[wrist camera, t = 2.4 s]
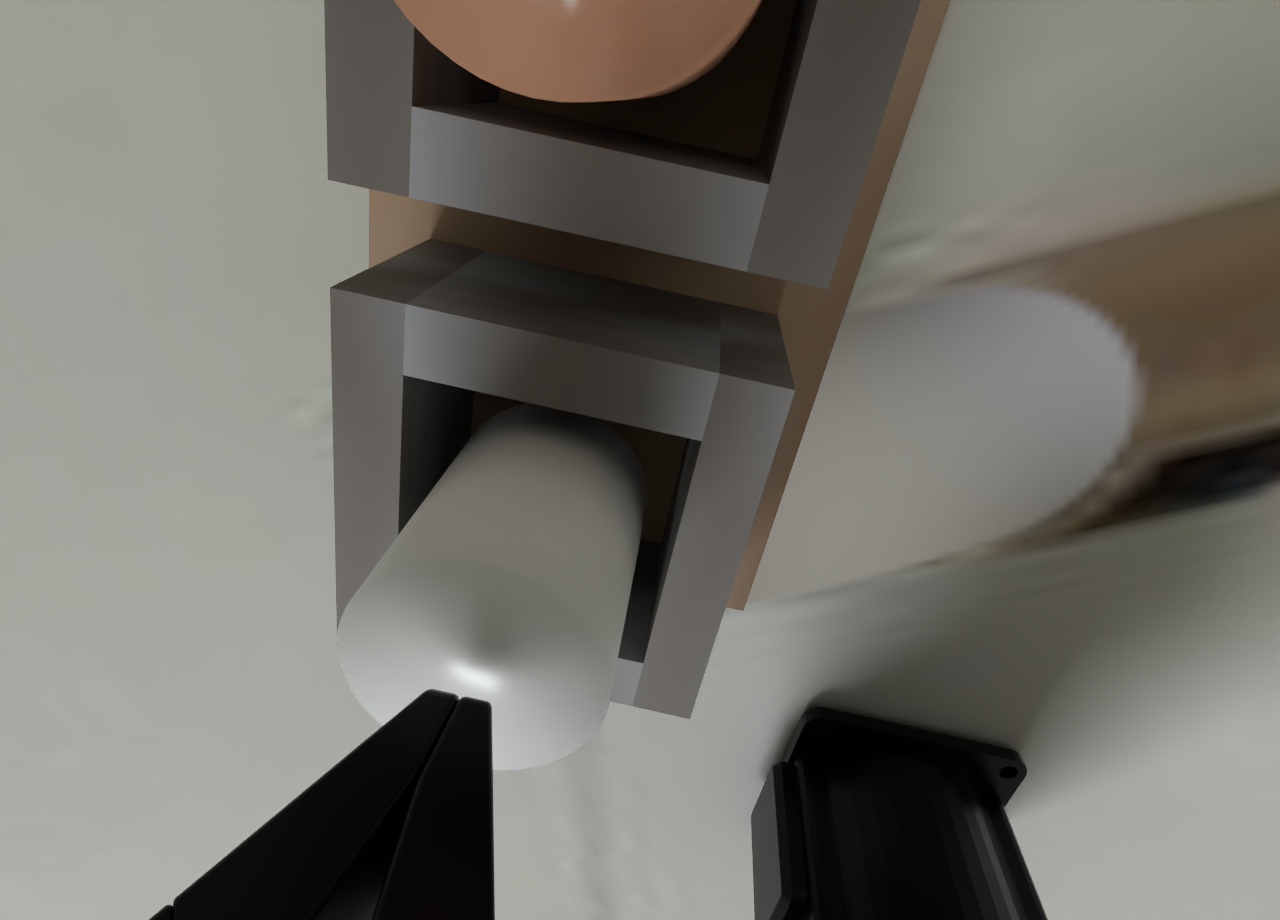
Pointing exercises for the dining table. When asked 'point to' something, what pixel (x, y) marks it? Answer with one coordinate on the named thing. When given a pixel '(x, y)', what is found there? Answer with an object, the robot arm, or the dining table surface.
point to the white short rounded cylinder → (508, 585)
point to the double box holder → (611, 283)
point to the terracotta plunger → (585, 43)
